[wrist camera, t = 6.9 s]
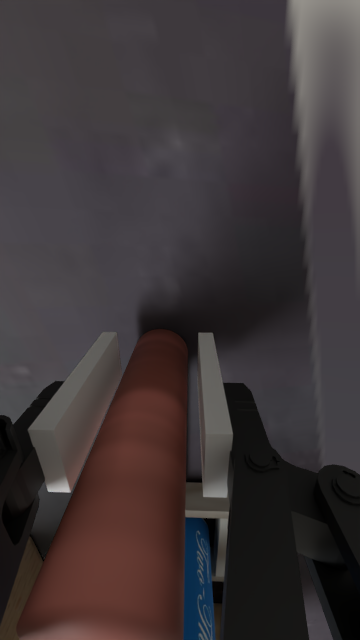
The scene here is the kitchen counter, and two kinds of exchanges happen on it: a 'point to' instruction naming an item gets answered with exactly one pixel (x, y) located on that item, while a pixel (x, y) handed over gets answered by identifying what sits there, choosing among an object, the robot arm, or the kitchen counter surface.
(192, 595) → the beverage can
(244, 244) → the kitchen counter surface
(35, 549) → the wooden block
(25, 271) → the kitchen counter surface
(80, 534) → the square frame pulling tool
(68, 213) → the kitchen counter surface
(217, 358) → the robot arm
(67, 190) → the kitchen counter surface
